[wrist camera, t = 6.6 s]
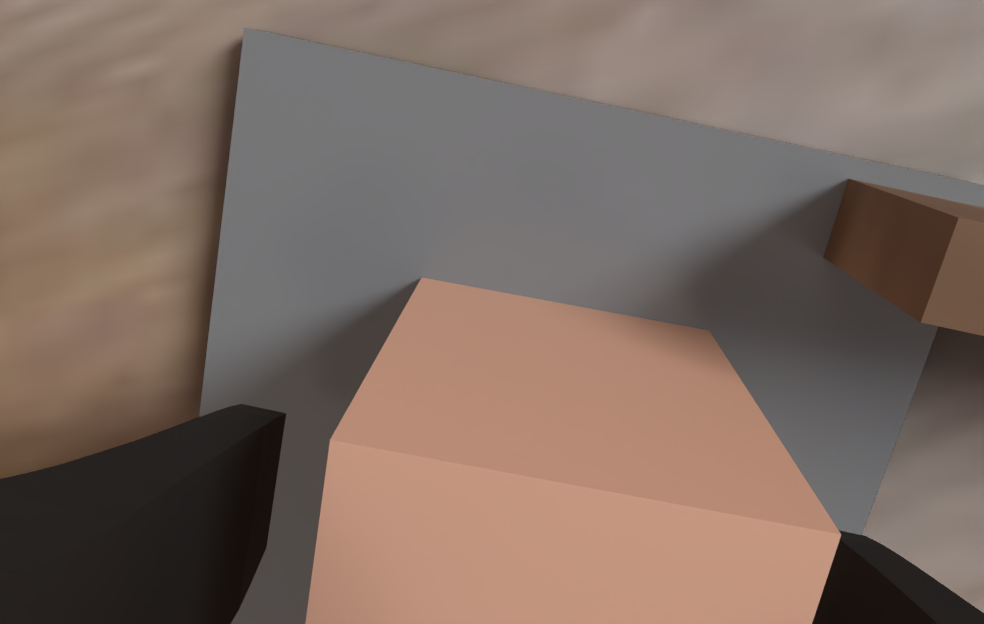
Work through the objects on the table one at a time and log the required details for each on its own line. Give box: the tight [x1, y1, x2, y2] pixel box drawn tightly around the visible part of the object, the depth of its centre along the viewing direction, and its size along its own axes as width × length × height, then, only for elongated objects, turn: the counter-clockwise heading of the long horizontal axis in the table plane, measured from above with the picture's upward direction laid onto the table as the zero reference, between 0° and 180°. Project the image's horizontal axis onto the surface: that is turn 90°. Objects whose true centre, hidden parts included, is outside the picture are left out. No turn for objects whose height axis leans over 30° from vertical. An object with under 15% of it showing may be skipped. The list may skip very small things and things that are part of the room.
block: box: [305, 278, 841, 624], centre depth 11 cm, size 4×4×6 cm
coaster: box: [199, 28, 984, 624], centre depth 14 cm, size 11×11×1 cm
